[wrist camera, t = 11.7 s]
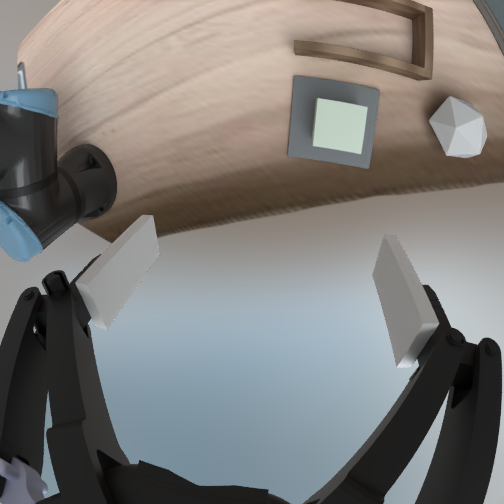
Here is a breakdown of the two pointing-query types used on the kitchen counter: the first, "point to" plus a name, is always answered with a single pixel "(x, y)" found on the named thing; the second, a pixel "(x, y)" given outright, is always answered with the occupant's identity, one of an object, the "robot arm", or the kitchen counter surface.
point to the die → (459, 128)
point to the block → (339, 125)
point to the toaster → (493, 17)
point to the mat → (304, 119)
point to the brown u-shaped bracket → (422, 55)
